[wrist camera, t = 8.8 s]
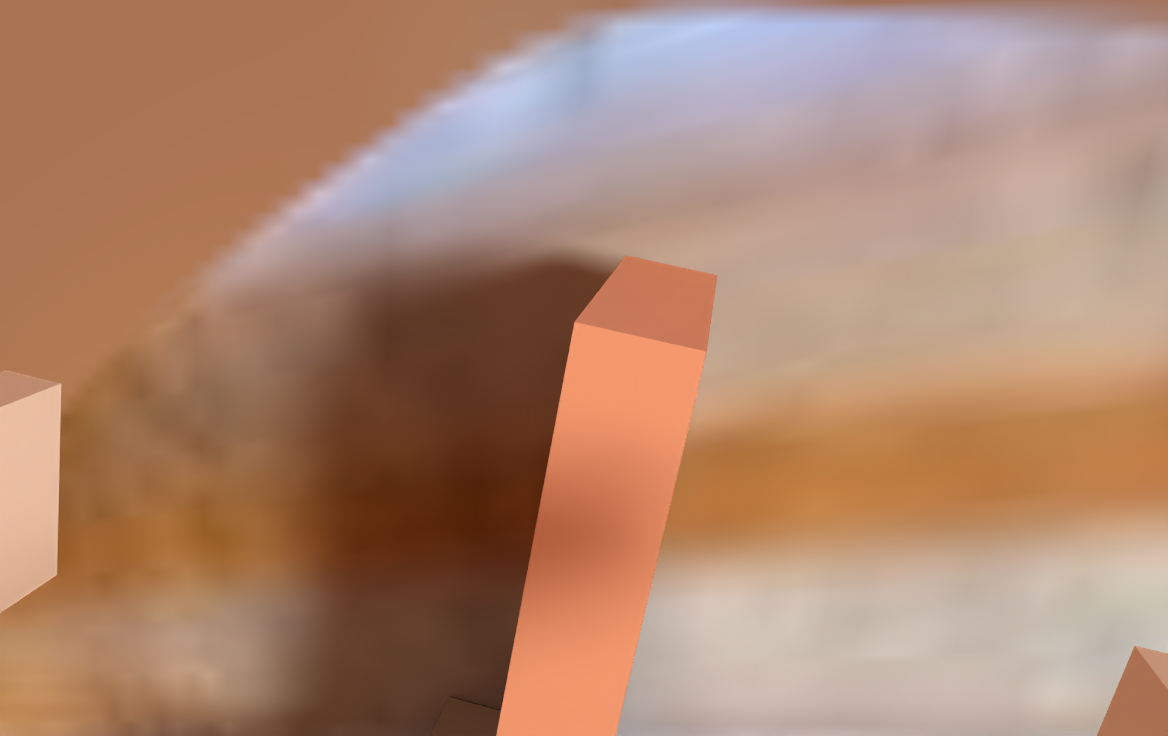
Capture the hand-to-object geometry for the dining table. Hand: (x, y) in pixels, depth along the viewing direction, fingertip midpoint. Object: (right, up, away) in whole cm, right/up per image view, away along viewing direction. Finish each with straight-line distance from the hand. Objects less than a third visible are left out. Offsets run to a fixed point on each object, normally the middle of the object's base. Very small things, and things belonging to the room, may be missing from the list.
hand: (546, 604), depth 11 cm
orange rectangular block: (+1, -2, +16) cm, 16 cm away
